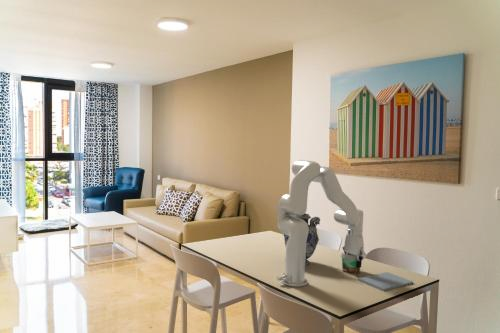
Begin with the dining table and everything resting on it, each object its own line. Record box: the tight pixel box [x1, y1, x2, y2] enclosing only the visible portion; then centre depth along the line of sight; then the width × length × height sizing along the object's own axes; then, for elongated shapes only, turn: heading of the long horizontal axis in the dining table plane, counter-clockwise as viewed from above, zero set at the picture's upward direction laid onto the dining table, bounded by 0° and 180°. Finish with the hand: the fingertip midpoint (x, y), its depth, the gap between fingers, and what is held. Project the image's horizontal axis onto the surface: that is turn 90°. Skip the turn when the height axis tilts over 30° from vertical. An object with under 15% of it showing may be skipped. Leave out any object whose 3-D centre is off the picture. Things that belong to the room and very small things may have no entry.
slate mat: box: [357, 271, 414, 292], centre depth 201 cm, size 22×16×1 cm
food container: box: [340, 252, 361, 275], centre depth 214 cm, size 12×6×10 cm, turn 106°
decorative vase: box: [283, 213, 321, 266], centre depth 228 cm, size 21×19×28 cm
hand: (353, 265), depth 214 cm, fingers closed on food container, 6 cm apart
